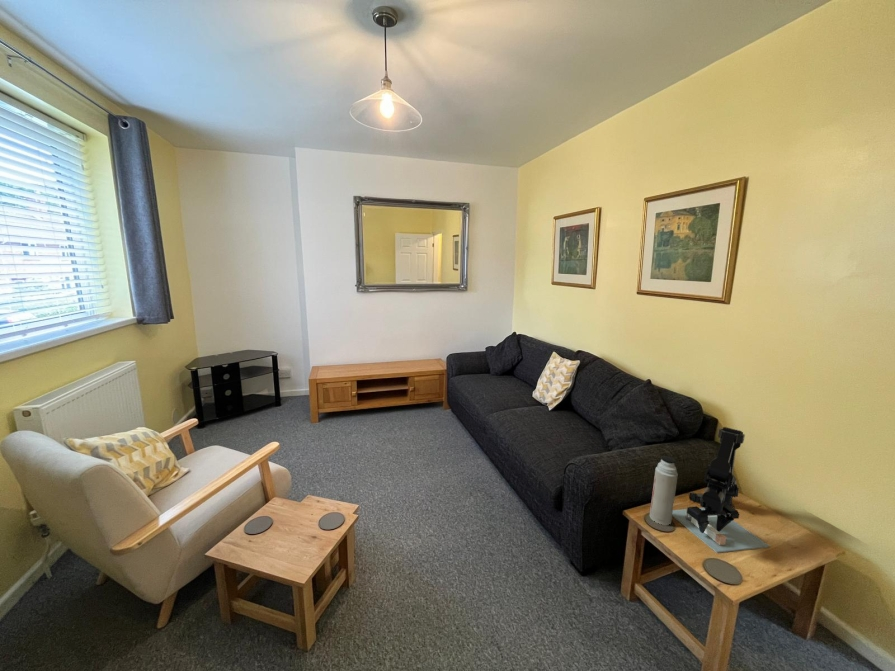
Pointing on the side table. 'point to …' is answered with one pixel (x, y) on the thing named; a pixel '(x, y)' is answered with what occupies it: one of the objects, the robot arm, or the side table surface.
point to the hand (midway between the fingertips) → (709, 531)
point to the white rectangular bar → (712, 533)
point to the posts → (688, 516)
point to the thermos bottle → (664, 491)
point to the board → (733, 532)
